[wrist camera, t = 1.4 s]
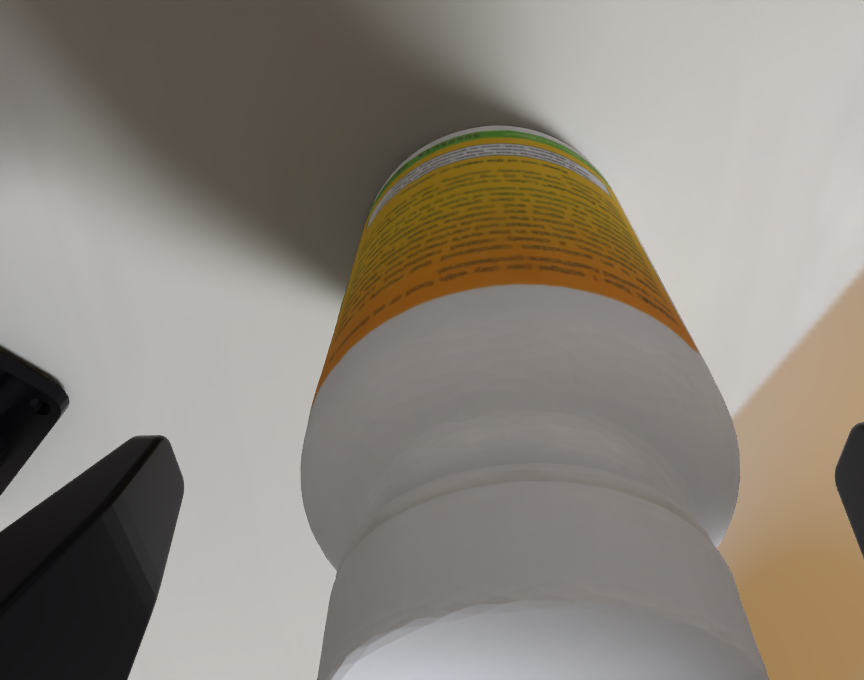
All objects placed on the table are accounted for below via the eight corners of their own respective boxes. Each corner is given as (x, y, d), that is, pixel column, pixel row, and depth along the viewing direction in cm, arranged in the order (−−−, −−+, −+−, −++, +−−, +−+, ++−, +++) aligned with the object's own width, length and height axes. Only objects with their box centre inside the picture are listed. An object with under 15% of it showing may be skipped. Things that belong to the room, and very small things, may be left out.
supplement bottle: (314, 199, 13) (87, 657, 5) (560, 64, 12) (786, 421, 4) (441, 385, 16) (421, 886, 8) (656, 295, 14) (917, 808, 6)
